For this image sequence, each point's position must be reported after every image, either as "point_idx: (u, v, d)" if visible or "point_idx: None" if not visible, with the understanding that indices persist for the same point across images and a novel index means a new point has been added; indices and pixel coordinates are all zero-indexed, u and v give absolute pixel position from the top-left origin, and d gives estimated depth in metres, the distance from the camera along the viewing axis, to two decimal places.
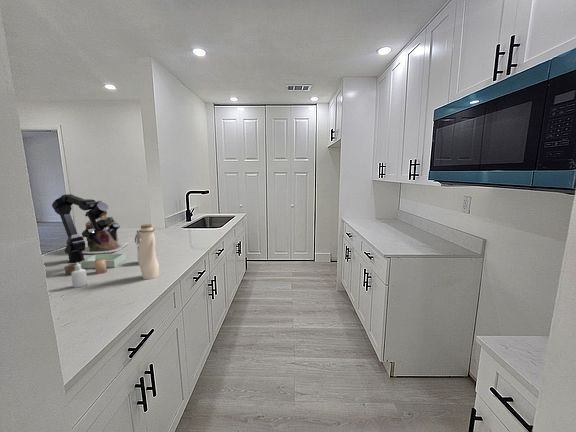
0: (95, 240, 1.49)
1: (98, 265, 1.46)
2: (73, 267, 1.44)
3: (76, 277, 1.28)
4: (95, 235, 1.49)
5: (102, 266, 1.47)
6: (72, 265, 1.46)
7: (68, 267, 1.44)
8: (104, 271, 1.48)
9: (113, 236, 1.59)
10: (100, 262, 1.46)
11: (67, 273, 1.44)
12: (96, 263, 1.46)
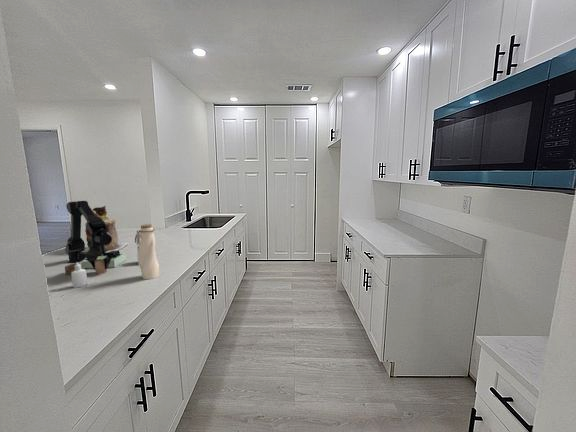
0: None
1: (98, 265, 1.46)
2: (73, 267, 1.44)
3: (76, 277, 1.28)
4: (90, 261, 1.46)
5: (102, 266, 1.47)
6: (72, 265, 1.46)
7: (68, 267, 1.44)
8: (104, 271, 1.48)
9: None
10: (100, 262, 1.46)
11: (67, 273, 1.44)
12: (96, 263, 1.46)
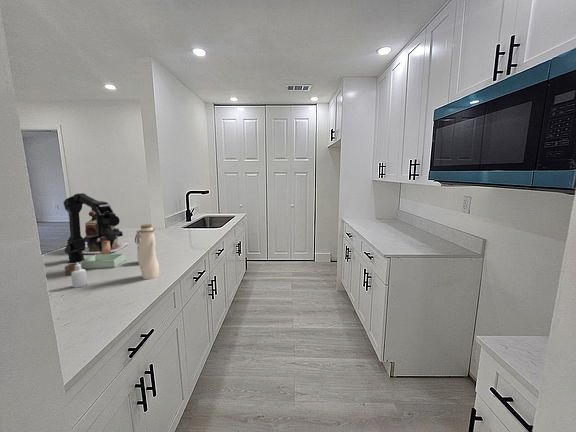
0: (97, 247, 1.52)
1: (108, 245, 1.54)
2: (73, 267, 1.44)
3: (76, 277, 1.28)
4: (99, 243, 1.51)
5: None
6: (72, 265, 1.46)
7: (68, 267, 1.44)
8: (110, 251, 1.57)
9: None
10: (109, 242, 1.55)
11: (67, 273, 1.44)
12: (106, 244, 1.53)
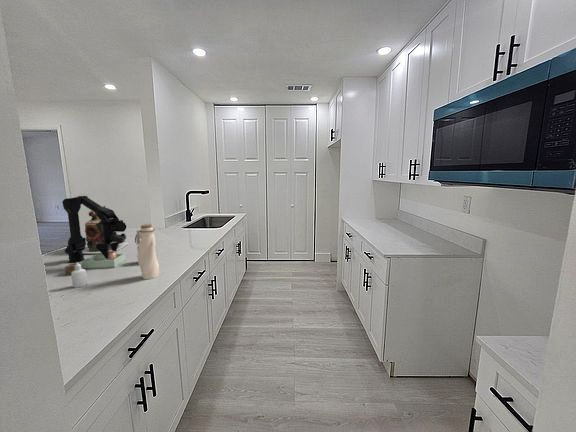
0: (105, 254, 1.55)
1: (115, 255, 1.62)
2: (73, 267, 1.44)
3: (76, 277, 1.28)
4: (108, 250, 1.55)
5: None
6: (72, 265, 1.46)
7: (68, 267, 1.44)
8: None
9: (114, 249, 1.66)
10: (115, 252, 1.63)
11: (67, 273, 1.44)
12: (114, 253, 1.61)
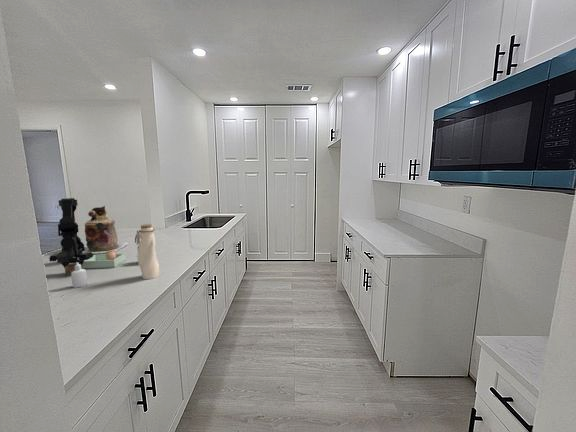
0: None
1: (115, 255, 1.62)
2: (73, 267, 1.44)
3: (76, 277, 1.28)
4: (62, 263, 1.44)
5: None
6: (72, 265, 1.46)
7: (68, 267, 1.44)
8: None
9: None
10: (115, 252, 1.63)
11: (67, 273, 1.44)
12: (114, 253, 1.61)
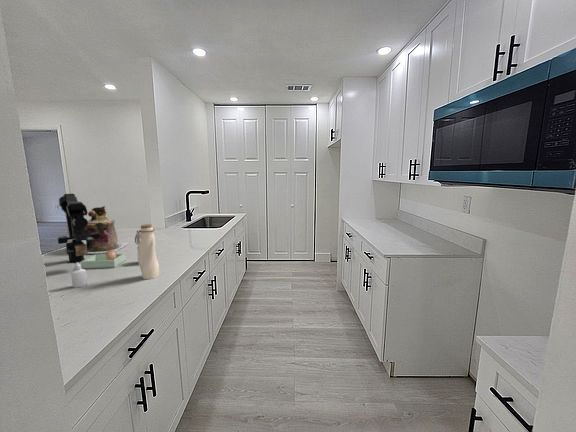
0: (72, 248, 1.48)
1: (115, 255, 1.62)
2: (85, 247, 1.50)
3: (76, 277, 1.28)
4: (72, 245, 1.47)
5: None
6: (81, 245, 1.50)
7: (79, 247, 1.48)
8: None
9: None
10: (115, 252, 1.63)
11: (78, 253, 1.48)
12: (113, 253, 1.61)
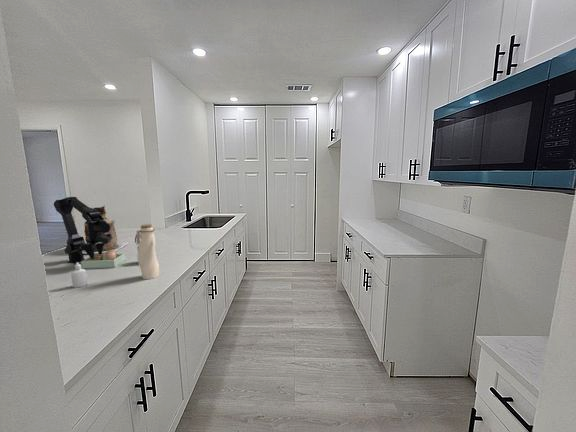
0: (90, 254, 1.55)
1: (115, 255, 1.62)
2: (103, 255, 1.63)
3: (76, 277, 1.28)
4: (93, 250, 1.55)
5: (115, 255, 1.63)
6: (98, 255, 1.61)
7: (100, 256, 1.60)
8: None
9: (99, 249, 1.64)
10: (115, 252, 1.62)
11: None
12: (113, 254, 1.60)
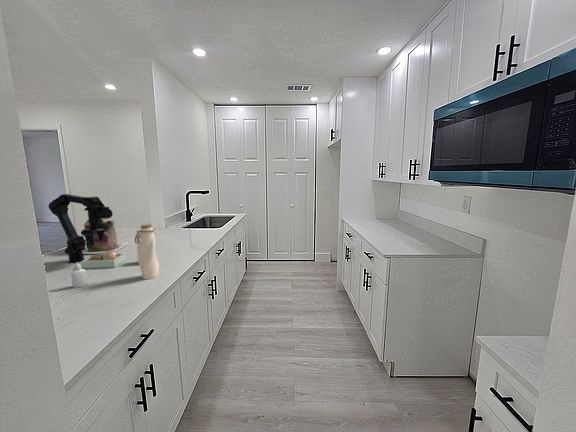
0: (90, 240, 1.57)
1: (115, 255, 1.62)
2: (103, 255, 1.63)
3: (76, 277, 1.28)
4: (93, 236, 1.57)
5: (116, 255, 1.64)
6: (98, 255, 1.61)
7: (100, 256, 1.60)
8: None
9: (100, 236, 1.67)
10: None
11: None
12: (113, 253, 1.61)
